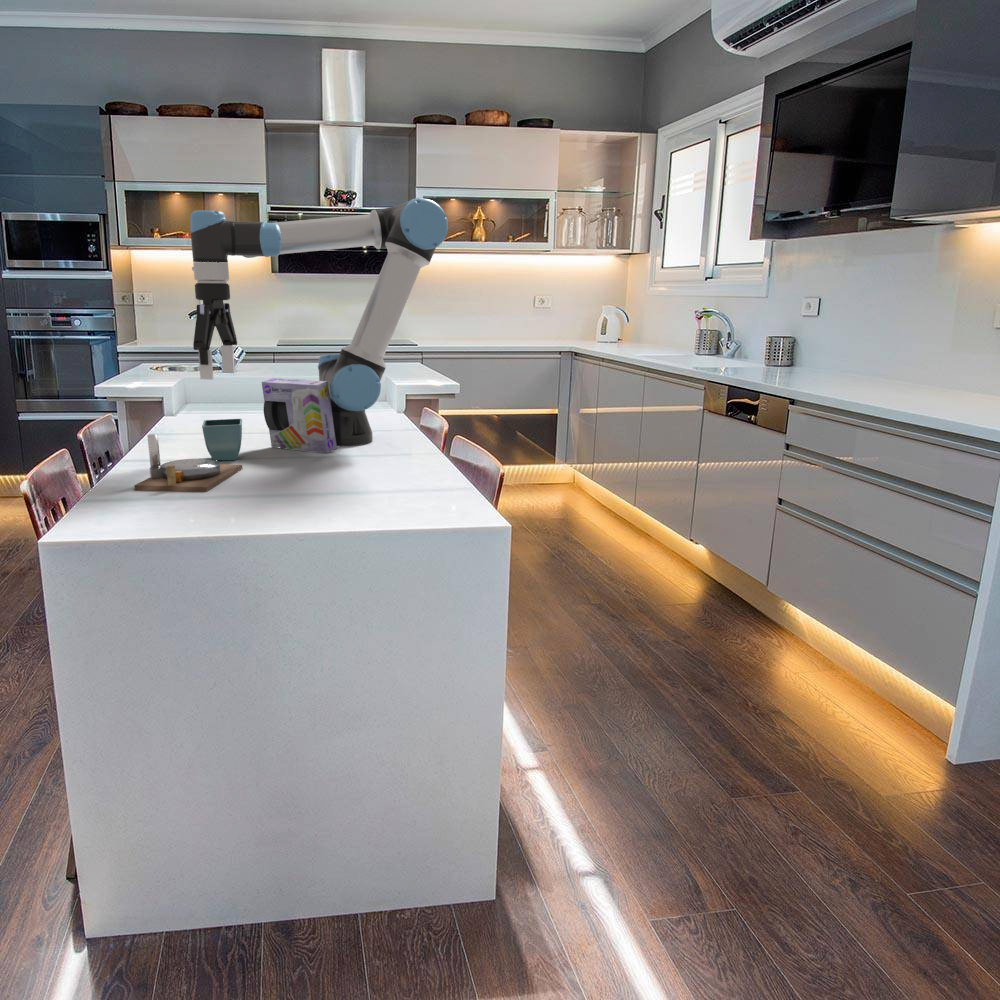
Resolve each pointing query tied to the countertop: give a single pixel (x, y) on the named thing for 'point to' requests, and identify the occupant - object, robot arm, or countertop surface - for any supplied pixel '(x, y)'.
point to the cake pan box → (299, 414)
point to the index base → (187, 485)
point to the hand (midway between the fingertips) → (218, 376)
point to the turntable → (180, 465)
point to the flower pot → (223, 438)
